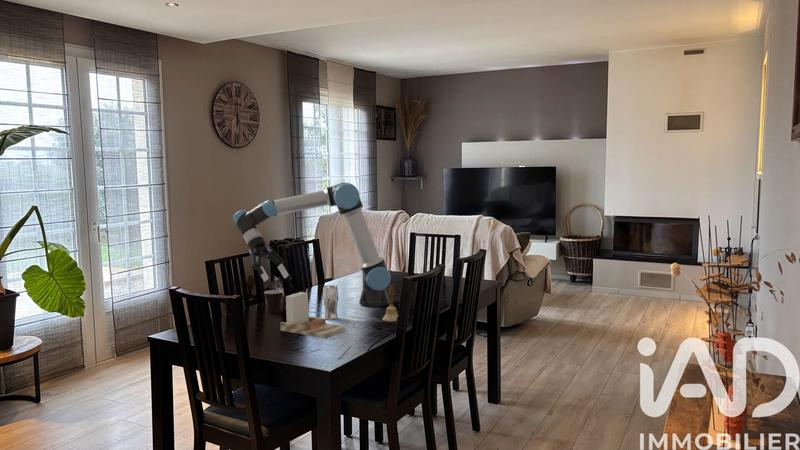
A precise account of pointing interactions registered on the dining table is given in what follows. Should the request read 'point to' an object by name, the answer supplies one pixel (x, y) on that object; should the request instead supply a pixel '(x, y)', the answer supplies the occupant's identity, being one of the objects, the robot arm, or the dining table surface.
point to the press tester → (312, 328)
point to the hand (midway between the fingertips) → (276, 278)
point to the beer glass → (330, 301)
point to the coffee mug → (273, 301)
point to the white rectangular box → (297, 308)
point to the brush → (391, 308)
